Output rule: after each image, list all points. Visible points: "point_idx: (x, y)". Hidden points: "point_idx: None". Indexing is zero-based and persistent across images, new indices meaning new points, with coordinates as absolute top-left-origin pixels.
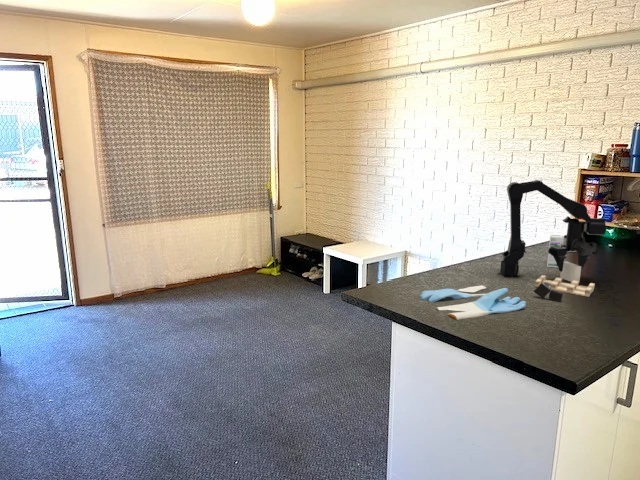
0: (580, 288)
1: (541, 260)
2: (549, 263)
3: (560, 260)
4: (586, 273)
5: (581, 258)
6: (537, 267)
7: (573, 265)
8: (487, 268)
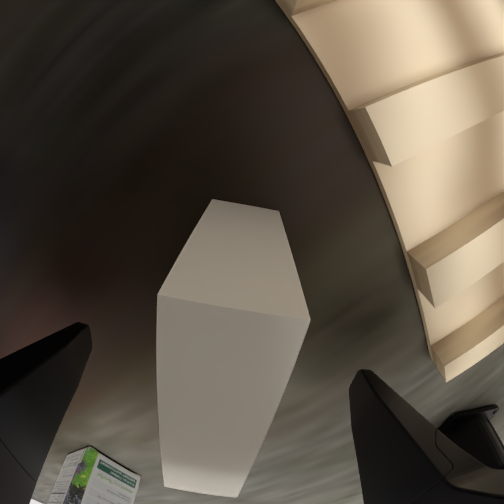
0: (421, 41)
1: None
2: (130, 486)
3: (481, 466)
4: (3, 343)
5: (11, 450)
6: None
7: (267, 389)
8: None
